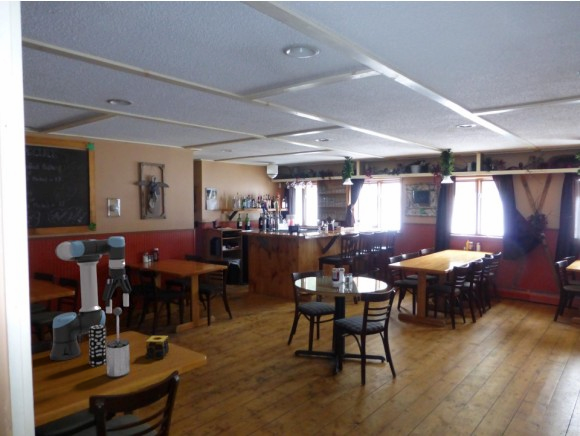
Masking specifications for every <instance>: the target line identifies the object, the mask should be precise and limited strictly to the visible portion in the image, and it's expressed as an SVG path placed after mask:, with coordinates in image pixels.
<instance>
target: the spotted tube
mask: <svg viewBox="0 0 580 436" xmlns="http://www.w3.org/2000/svg"><path fill="white" fill-rule="evenodd" d="M106 344H107V325H101V324H100V325H93V326H90V327H89V333H88V350H89V351H88V355H89V357H88V359H89V366H90V367H100V366H104V365H107V345H106Z"/></svg>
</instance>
